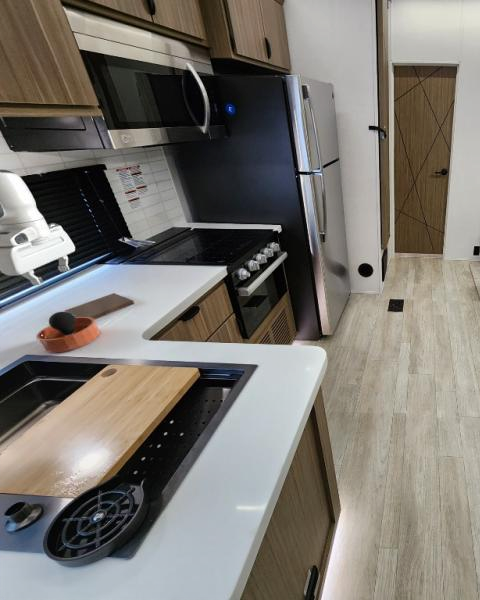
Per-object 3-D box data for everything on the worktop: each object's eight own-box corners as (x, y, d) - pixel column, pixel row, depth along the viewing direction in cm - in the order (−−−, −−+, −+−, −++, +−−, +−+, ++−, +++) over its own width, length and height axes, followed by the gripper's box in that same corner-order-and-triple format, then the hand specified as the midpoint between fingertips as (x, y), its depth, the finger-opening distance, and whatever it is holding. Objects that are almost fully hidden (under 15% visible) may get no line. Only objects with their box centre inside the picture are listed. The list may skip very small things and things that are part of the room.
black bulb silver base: (80, 332, 110) (66, 306, 105) (88, 337, 107) (73, 311, 102) (57, 341, 105) (41, 314, 101) (65, 347, 103) (48, 319, 98)
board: (84, 323, 116) (82, 319, 115) (66, 314, 122) (64, 310, 121) (134, 303, 128) (132, 300, 128) (115, 296, 134) (113, 293, 134)
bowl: (56, 358, 98) (48, 344, 96) (37, 346, 104) (28, 333, 102) (109, 335, 109) (102, 322, 107) (88, 325, 115) (82, 313, 112)
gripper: (46, 221, 99) (68, 264, 106) (-24, 243, 81) (8, 293, 88) (69, 221, 100) (89, 263, 106) (4, 242, 82) (34, 291, 88)
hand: (52, 277), depth 97 cm, fingers open, 8 cm apart
